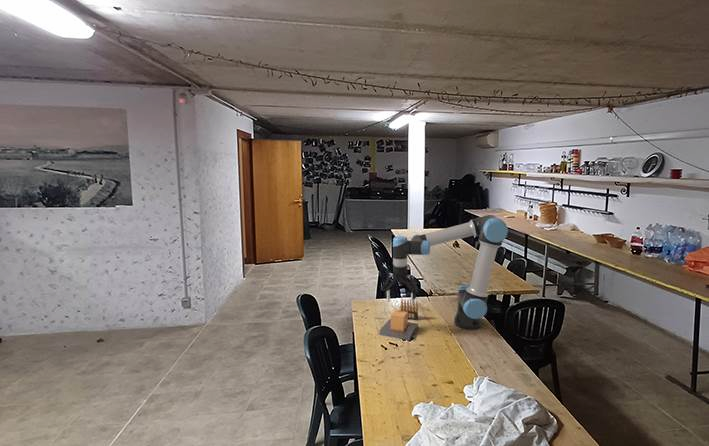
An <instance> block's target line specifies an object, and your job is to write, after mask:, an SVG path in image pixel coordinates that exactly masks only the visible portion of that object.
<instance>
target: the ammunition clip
mask: <svg viewBox="0 0 709 446" xmlns="http://www.w3.org/2000/svg"><path fill="white" fill-rule="evenodd" d="M399 308H400V311H406V312H408V321H410V320H411V321H418V320H419V307H418V300H416V301H414V304H413V306H411V299H410V300H409V299H407V300H406V298H404V300H403V299H402V298H401V299H400V307H399Z"/></svg>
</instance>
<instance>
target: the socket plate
mask: <svg viewBox="0 0 709 446" xmlns="http://www.w3.org/2000/svg"><path fill="white" fill-rule="evenodd" d="M418 329H419V323H415V322H409V321H408V326H407V327H406V328H405V330H404V332H403V331H400V330H394V329H391V318H389V319H388V320H387V321H386V323H384V325H383V326H382V327H381V328H380V329H379V332H378V333H379V334H378V335H379V336H385V337H389V338H395V339H398V340H399V339H400V340H406V341H411V339H412V338H413V337H414V335H415V334H416V332H417V331H418Z"/></svg>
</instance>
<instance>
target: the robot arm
mask: <svg viewBox="0 0 709 446" xmlns="http://www.w3.org/2000/svg"><path fill="white" fill-rule="evenodd" d="M508 233H509V229H508V226H507V224H506V222H505V221H504V220H503V219H501V218H499V217H497V216H495V215H492V214H487V215H483V216H480V217H476V218H473V219H472V218H471V219H470V220H469V221H468V222H465V223H461V224H458V225H453V226H450V227H446V228H441V229H439V230H435V231H431V232H426V233H424V234H415V235H413V236H412V237H411V239H410V240H408V236H407V237H406V236H402V235H401V236H400V235H398V236H395V237H393V239H392V240H393V241H392V265H393V266H392V273H391V272H388V273H387V275H386V276H387V277H386V279H385V281H384V283H383V285H382V286H381V289H382V290H384V293H385V294H384V295H385V297H386V303H389V302H391V301H390V300H391V296H390V295H391V294H390V293H391V290H390V288H392V286H393V284H394V283H401V284H404V285H405V286H406V287H407V288H408V290H409V291H410V292H411V294H410V300H411V306H413V304H414V302H415V299H416V296H417V295H416V294H418V293H419V292H420V290H419V287H418V285H417V283H416V281H415V279H414V275H413V274H408V266H407V265H408V256H410V255H411V256H414V255H417V256H427V255H430V254H431V253H430V252H431V247H434V246H436V245H437V246H438V245H442V244H445V243H449V242H453V241H457V240H460V239H464V238H468V237H472V236H473V237H475V238H476V237H478V242H479V244H480V245H479V249H478V254H477V256H476V260H475V265H474V268H473V273H472V277H471V280H470V283H469V284H468V283H467V284H460V285H459V286H458V288H457V291H458V293H457V294H458V295H457V310H456V313H455V315H454V318H453V323H454V325H455V326H456V327H458V328H461V329H466V330H477V329H480V328H481V327H482V319H481V318H483V317H484V316H485V315H487V312H488V305H487V301H488V298H489V294H488V292H487V288H488V286H489V282H490V278H491V273H492V270H493V268H494V267H493V266H494V263H495V259H496V257H497V256H496V255H497V251H498V249H499V248H500V247H502V245H503V243H504V240H505V239H506V238H507V236H508ZM391 278H393V279H392V281H391V282H390V283H389V284H388V282H389V281H390V279H391ZM408 279H409V280H408ZM409 281H410V282H409Z"/></svg>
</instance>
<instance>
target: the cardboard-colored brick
mask: <svg viewBox="0 0 709 446" xmlns="http://www.w3.org/2000/svg"><path fill="white" fill-rule="evenodd" d="M390 319H391V329H394V330H400V331H403V332H404V330H405V328H406V327H407V326H408V322H409V319H408V312H406V311H400V310H398V309H395V310H394V311H393V312H392V313H391V315H390Z"/></svg>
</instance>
